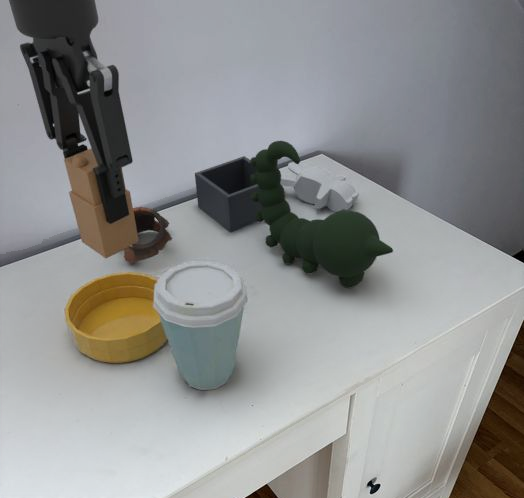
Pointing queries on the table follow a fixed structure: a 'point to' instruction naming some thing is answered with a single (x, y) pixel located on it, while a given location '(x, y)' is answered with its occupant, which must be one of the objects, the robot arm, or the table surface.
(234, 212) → the bin
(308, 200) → the bunny figurine
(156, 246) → the rusty brown ring frame
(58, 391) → the table surface
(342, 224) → the toy figurine
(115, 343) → the bowl
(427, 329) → the table surface
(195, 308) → the disposable coffee cup
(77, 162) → the tan stacked block
